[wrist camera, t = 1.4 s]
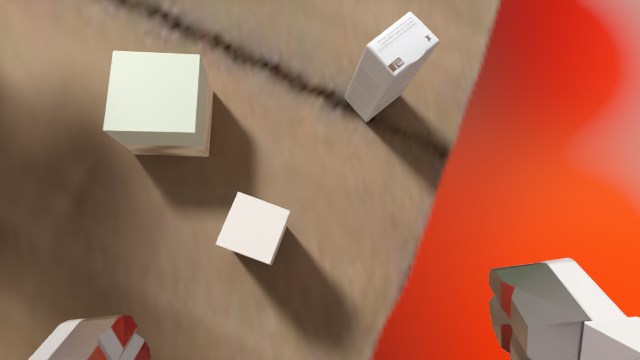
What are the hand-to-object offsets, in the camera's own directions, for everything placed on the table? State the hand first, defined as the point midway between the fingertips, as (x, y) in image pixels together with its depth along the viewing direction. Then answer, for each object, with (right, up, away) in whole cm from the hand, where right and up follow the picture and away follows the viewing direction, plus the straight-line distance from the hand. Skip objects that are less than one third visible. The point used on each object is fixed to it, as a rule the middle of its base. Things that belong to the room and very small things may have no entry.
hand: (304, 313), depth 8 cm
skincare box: (+7, +13, +38) cm, 40 cm away
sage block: (-16, +10, +30) cm, 36 cm away
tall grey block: (-6, -3, +32) cm, 33 cm away
